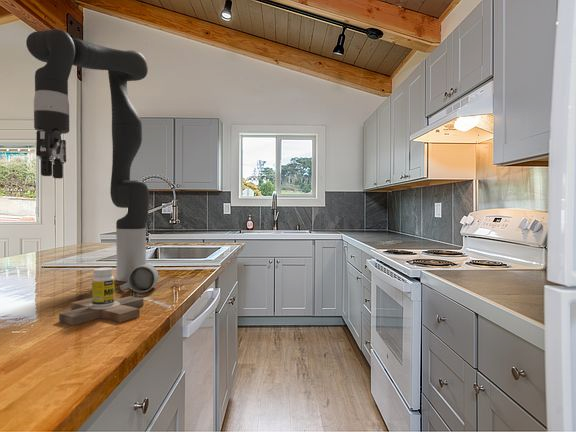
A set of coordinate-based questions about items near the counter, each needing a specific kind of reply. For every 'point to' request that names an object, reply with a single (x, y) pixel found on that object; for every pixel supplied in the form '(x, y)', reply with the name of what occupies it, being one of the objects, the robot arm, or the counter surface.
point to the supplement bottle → (103, 287)
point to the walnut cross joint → (102, 311)
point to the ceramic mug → (141, 279)
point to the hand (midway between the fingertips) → (52, 177)
